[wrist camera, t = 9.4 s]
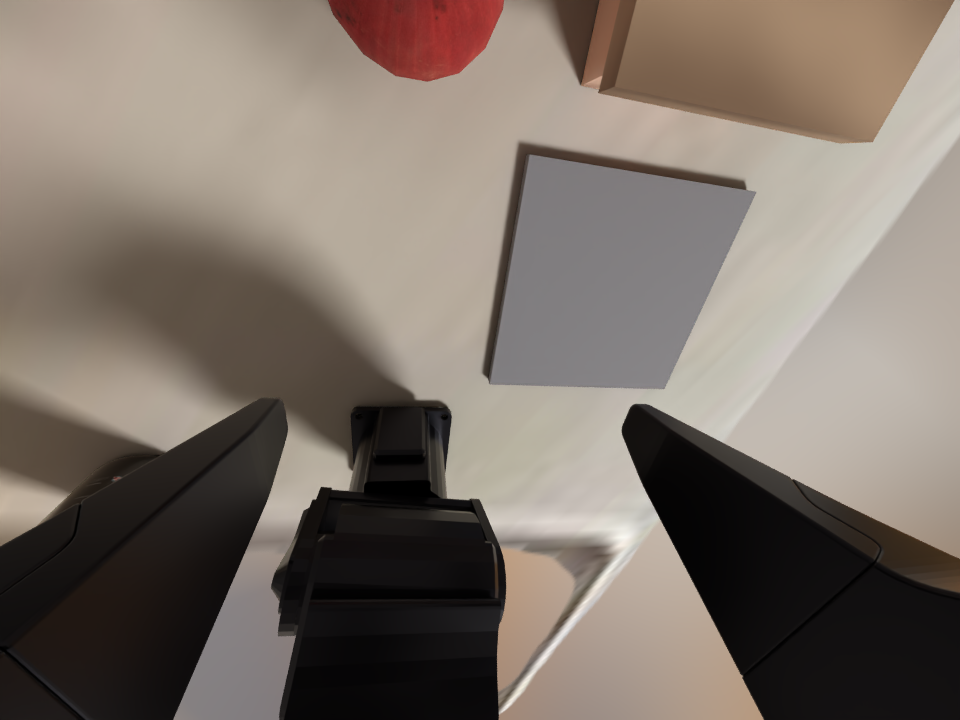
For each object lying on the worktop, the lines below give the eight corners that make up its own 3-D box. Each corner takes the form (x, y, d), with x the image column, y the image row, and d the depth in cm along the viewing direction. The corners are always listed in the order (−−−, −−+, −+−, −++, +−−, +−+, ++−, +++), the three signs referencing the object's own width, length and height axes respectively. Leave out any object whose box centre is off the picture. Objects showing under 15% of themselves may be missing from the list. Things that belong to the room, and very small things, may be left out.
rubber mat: (659, 384, 25) (664, 389, 25) (488, 379, 23) (489, 384, 22) (747, 191, 19) (756, 191, 19) (526, 154, 17) (529, 154, 16)
